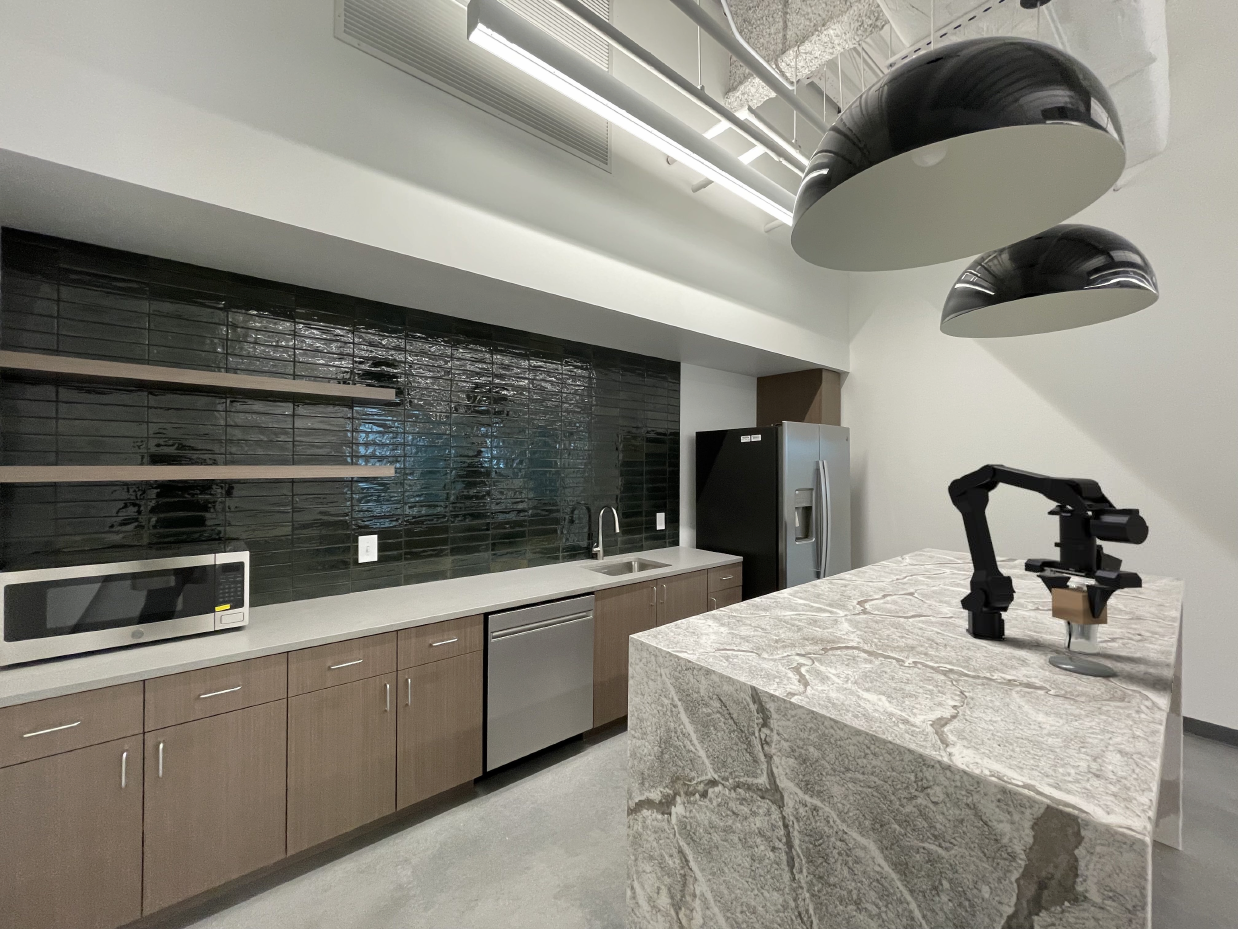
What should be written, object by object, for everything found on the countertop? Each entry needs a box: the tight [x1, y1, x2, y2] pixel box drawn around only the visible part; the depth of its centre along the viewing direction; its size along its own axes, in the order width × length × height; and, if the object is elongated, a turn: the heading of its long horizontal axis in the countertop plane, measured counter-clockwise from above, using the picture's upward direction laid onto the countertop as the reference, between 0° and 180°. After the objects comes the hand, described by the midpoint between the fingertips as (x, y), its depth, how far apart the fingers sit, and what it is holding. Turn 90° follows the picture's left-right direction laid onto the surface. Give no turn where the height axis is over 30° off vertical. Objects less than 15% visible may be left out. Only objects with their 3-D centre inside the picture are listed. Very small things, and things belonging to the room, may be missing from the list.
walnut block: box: [1051, 588, 1108, 625], centre depth 103 cm, size 6×6×6 cm
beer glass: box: [1063, 581, 1101, 656], centre depth 113 cm, size 7×7×15 cm
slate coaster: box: [1048, 655, 1116, 678], centre depth 103 cm, size 10×10×1 cm
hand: (1079, 614), depth 103 cm, fingers closed on walnut block, 6 cm apart
